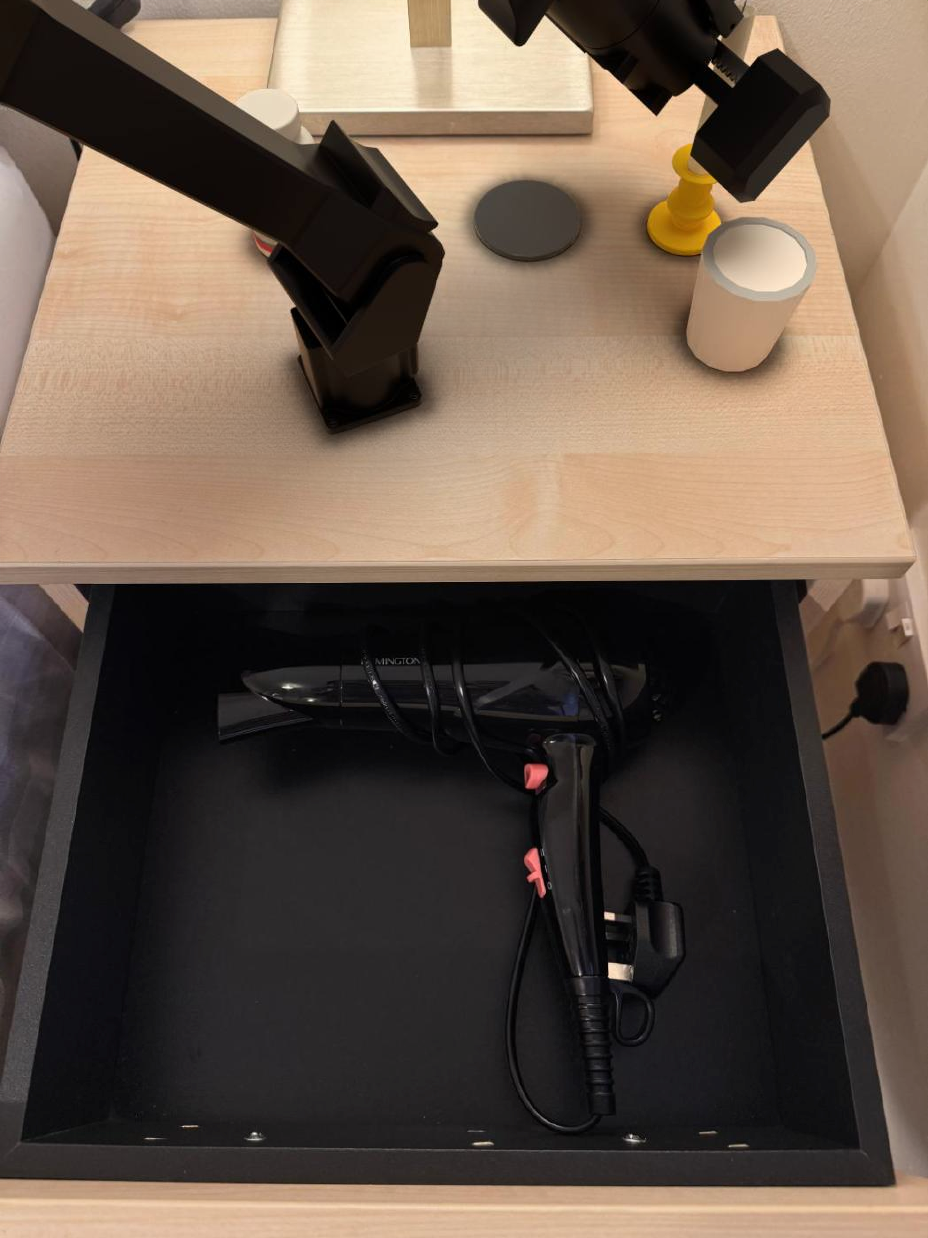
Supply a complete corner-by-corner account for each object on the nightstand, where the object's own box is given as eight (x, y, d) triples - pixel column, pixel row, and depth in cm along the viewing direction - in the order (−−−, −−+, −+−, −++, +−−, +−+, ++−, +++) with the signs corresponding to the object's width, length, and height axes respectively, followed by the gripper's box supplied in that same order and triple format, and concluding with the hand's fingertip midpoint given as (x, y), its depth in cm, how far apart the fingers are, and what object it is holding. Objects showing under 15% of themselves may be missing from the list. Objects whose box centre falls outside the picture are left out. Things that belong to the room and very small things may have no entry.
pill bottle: (311, 273, 61) (285, 147, 52) (242, 253, 62) (204, 125, 53) (343, 221, 63) (323, 90, 54) (275, 202, 64) (245, 70, 55)
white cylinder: (777, 387, 57) (816, 308, 51) (671, 370, 58) (697, 290, 51) (783, 307, 60) (820, 223, 53) (682, 292, 60) (707, 207, 54)
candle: (637, 243, 62) (687, 16, 48) (659, 195, 64) (713, -38, 50) (708, 264, 61) (781, 39, 47) (728, 214, 63) (804, -17, 49)
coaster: (499, 273, 61) (499, 268, 61) (458, 201, 64) (458, 196, 64) (597, 242, 62) (598, 237, 62) (552, 172, 65) (553, 168, 65)
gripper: (883, -90, 36) (946, 78, 48) (616, -281, 42) (732, -90, 55) (685, 153, 41) (788, 247, 54) (476, -49, 48) (611, 76, 60)
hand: (730, 114), depth 56 cm, fingers open, 8 cm apart
